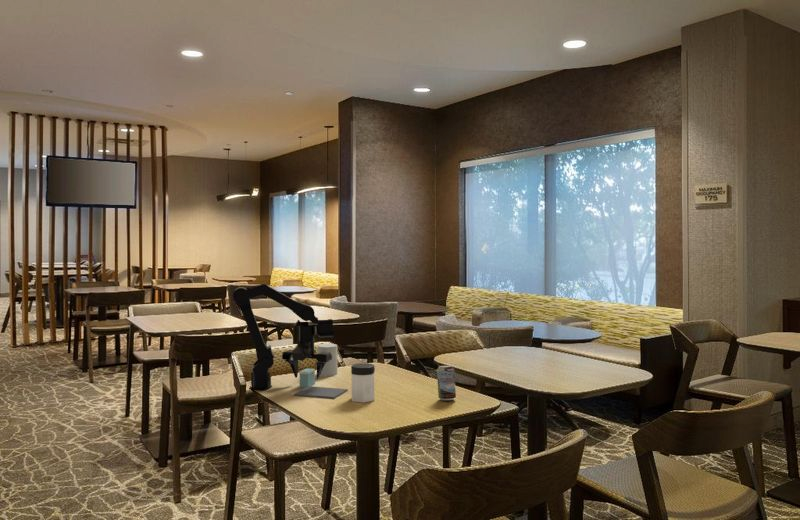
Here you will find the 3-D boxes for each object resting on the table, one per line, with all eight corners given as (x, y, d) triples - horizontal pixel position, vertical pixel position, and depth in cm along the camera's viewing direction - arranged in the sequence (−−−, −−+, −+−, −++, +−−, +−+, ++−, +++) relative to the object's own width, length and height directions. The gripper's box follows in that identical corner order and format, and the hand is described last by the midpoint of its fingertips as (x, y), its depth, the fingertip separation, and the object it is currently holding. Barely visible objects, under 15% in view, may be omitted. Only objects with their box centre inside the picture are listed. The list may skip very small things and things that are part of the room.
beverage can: (444, 403, 206) (444, 368, 206) (433, 398, 213) (433, 364, 213) (459, 401, 209) (459, 366, 209) (448, 396, 216) (448, 362, 215)
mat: (293, 395, 218) (293, 393, 218) (308, 387, 229) (308, 386, 229) (334, 398, 213) (334, 397, 213) (347, 390, 225) (347, 389, 225)
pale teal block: (299, 387, 231) (299, 371, 230) (306, 383, 236) (306, 368, 236) (308, 387, 229) (307, 372, 229) (315, 384, 235) (314, 368, 235)
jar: (357, 404, 206) (357, 369, 206) (346, 398, 213) (346, 365, 213) (380, 400, 211) (379, 366, 211) (368, 395, 218) (368, 362, 217)
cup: (341, 373, 254) (341, 344, 254) (329, 377, 248) (328, 347, 247) (326, 371, 259) (326, 343, 258) (313, 374, 252) (313, 346, 252)
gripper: (274, 339, 227) (274, 381, 228) (319, 342, 222) (320, 384, 222) (288, 335, 238) (289, 375, 239) (332, 337, 232) (332, 378, 233)
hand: (307, 378), depth 233 cm, fingers open, 9 cm apart
